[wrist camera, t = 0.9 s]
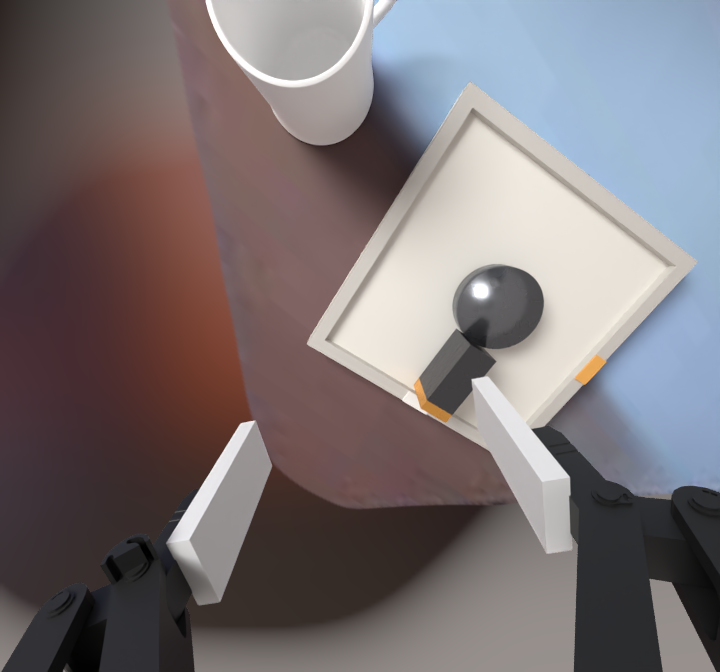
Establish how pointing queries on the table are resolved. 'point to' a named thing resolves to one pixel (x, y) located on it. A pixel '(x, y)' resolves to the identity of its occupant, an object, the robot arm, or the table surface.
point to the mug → (305, 59)
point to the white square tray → (499, 246)
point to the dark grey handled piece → (479, 333)
